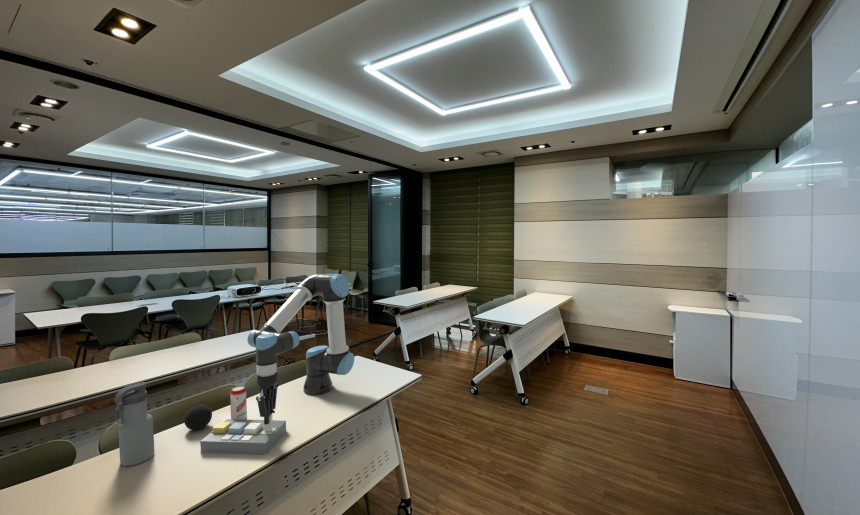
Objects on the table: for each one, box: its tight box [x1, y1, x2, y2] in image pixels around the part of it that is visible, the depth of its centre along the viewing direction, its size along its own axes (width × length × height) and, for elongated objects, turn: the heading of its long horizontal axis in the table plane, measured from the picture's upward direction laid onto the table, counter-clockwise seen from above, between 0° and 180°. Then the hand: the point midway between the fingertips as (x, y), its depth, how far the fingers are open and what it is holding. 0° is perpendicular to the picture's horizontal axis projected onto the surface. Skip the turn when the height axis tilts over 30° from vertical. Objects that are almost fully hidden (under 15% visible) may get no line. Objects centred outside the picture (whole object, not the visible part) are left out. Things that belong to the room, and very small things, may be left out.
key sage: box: [260, 428, 277, 435], centre depth 137 cm, size 5×5×2 cm
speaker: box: [183, 404, 213, 431], centre depth 147 cm, size 10×10×10 cm
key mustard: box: [212, 421, 231, 434], centre depth 138 cm, size 5×5×2 cm
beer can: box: [229, 385, 248, 420], centre depth 151 cm, size 6×6×16 cm
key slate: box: [228, 422, 246, 434], centre depth 138 cm, size 5×5×2 cm
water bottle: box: [114, 381, 155, 467], centre depth 126 cm, size 10×10×28 cm
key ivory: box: [244, 423, 262, 435], centre depth 137 cm, size 5×5×2 cm
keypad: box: [199, 418, 287, 455], centre depth 138 cm, size 16×26×5 cm, turn 87°
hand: (268, 430), depth 137 cm, fingers closed
